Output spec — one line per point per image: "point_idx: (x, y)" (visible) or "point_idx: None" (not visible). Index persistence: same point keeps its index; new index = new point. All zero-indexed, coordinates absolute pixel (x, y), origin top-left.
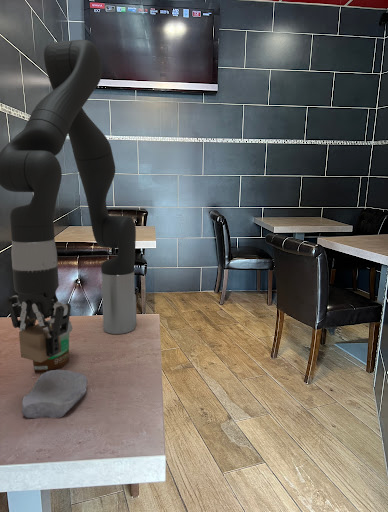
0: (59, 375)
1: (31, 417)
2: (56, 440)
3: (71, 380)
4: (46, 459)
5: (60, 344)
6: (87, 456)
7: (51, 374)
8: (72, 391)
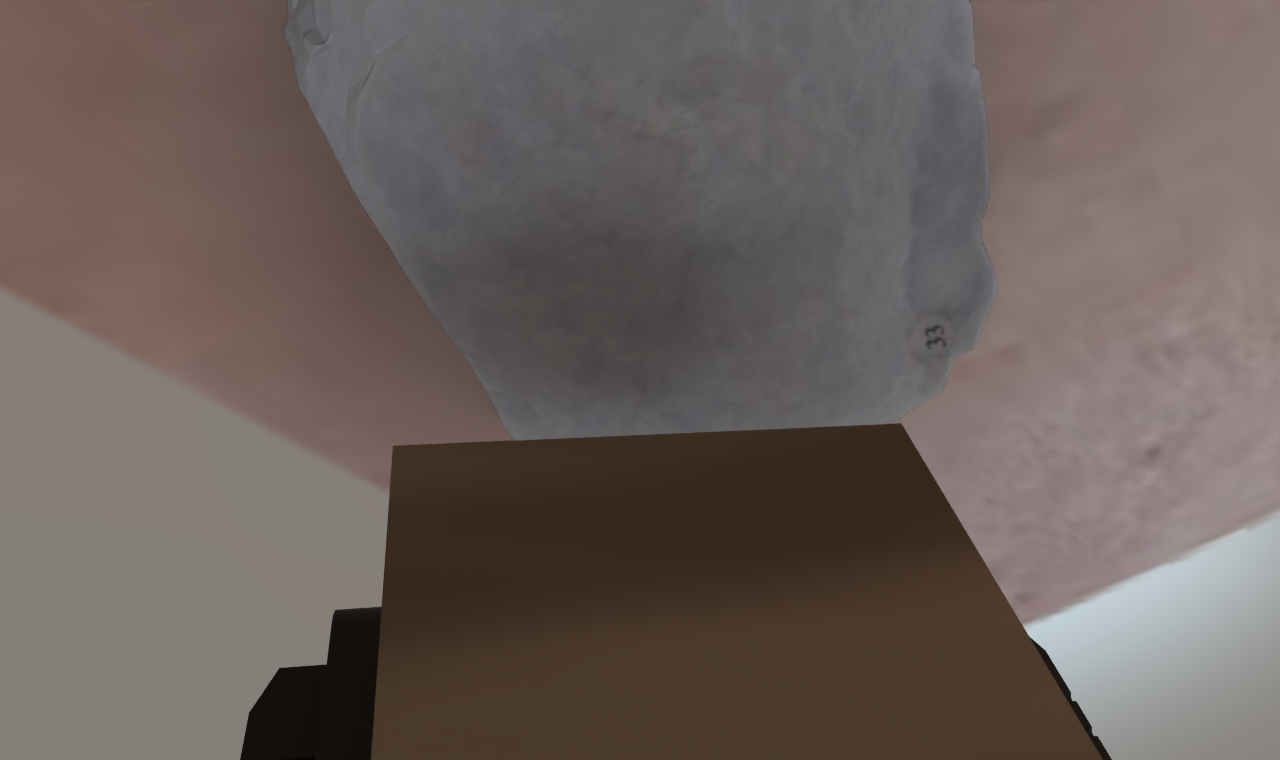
0: (610, 89)
1: None
2: (988, 504)
3: (781, 35)
4: (1018, 615)
5: (956, 528)
6: (1244, 511)
7: (508, 143)
8: (891, 169)
